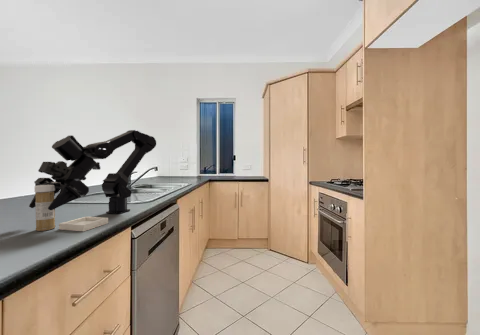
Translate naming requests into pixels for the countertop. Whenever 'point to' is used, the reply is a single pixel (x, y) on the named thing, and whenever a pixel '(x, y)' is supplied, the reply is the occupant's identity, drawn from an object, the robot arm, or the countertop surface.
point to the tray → (83, 223)
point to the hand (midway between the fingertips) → (39, 208)
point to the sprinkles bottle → (44, 207)
